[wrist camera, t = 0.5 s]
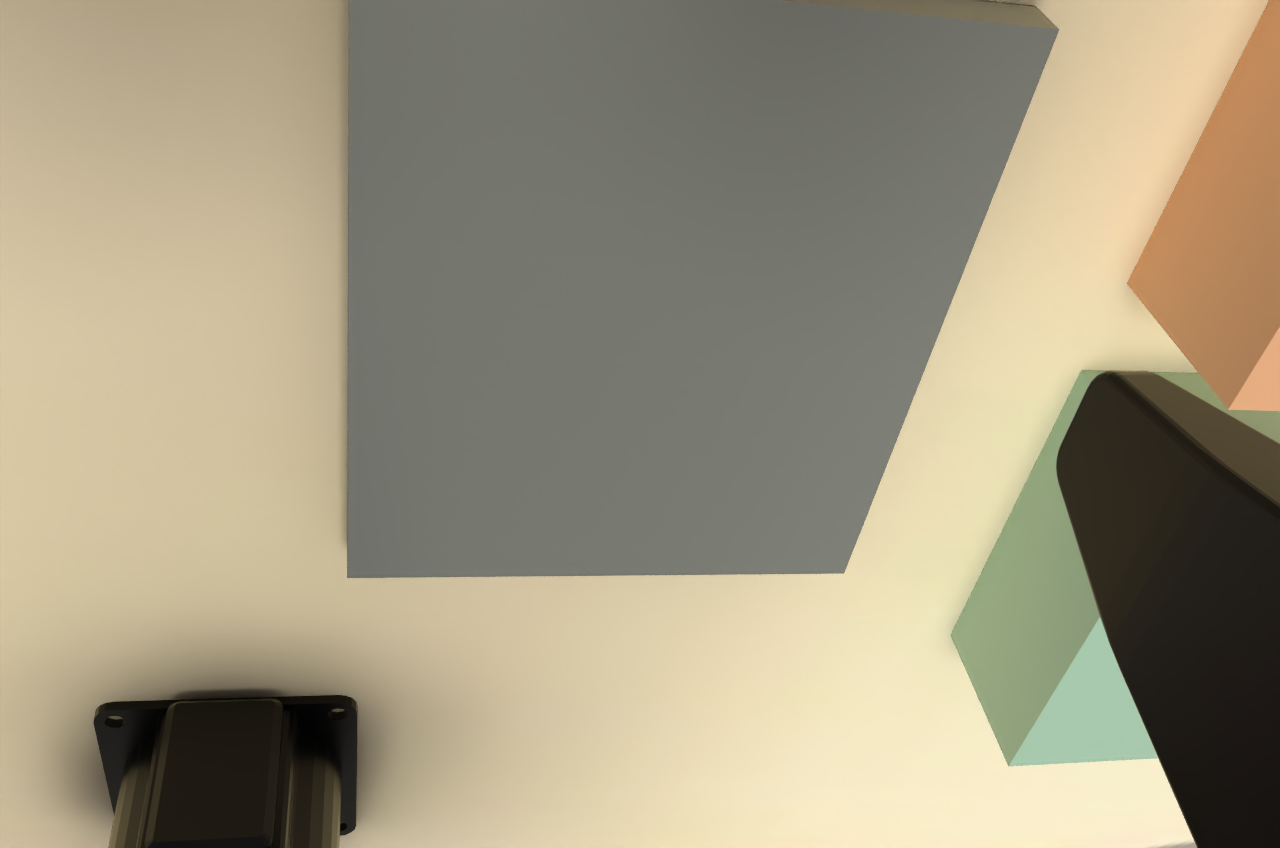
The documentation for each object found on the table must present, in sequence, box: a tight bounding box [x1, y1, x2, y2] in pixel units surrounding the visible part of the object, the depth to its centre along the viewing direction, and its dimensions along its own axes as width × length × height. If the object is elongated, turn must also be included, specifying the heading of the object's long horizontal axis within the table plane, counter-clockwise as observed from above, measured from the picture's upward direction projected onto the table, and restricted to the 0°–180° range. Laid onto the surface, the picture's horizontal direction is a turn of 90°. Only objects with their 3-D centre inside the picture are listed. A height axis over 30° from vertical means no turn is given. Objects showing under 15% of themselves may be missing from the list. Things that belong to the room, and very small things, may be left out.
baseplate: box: [347, 0, 1059, 578], centre depth 24 cm, size 14×12×1 cm
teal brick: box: [951, 370, 1280, 766], centre depth 30 cm, size 10×5×4 cm, turn 171°
